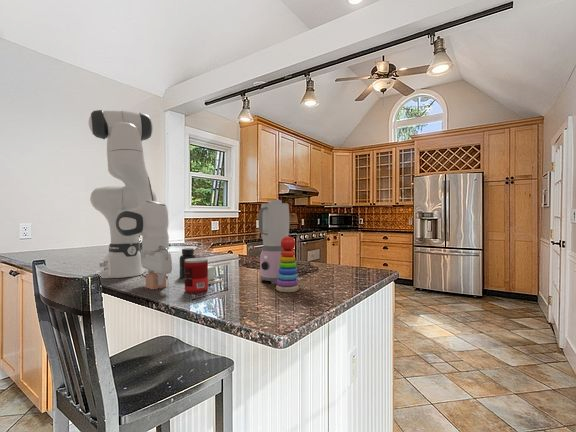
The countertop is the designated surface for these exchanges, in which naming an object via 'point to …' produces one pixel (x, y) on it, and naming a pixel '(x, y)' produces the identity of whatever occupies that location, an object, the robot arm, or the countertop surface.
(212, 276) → the block
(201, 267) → the canned food
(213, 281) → the build plate
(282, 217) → the blender
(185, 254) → the supplement bottle
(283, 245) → the stacking toy
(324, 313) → the countertop surface
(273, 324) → the countertop surface
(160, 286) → the block
